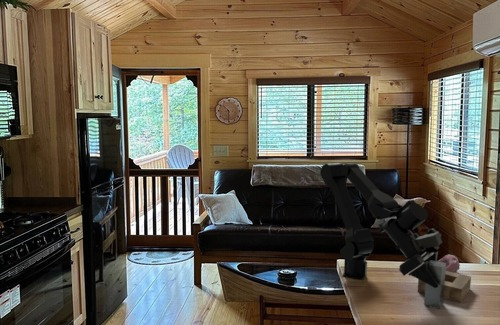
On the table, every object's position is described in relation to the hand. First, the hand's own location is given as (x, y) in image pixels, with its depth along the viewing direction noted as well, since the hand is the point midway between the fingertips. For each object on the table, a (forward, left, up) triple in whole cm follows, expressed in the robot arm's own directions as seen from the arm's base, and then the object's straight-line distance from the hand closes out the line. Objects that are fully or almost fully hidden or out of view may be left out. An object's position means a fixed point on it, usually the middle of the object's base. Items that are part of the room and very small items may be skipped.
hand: (440, 283), depth 122 cm
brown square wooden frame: (+1, +12, -7) cm, 14 cm away
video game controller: (+1, +29, -7) cm, 30 cm away
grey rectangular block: (-1, 0, -7) cm, 7 cm away
